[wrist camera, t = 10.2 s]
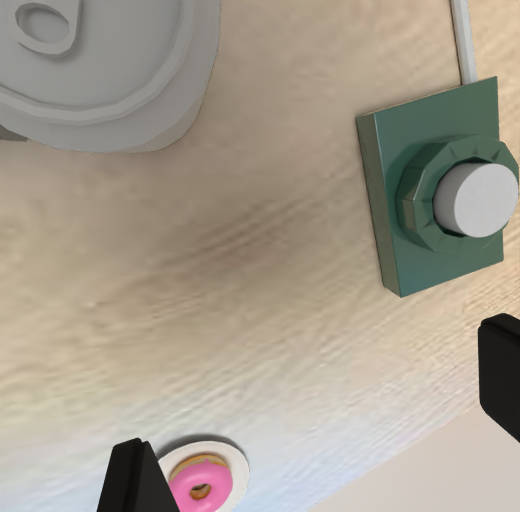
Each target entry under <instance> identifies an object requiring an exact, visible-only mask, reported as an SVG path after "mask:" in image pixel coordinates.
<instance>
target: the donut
mask: <svg viewBox="0 0 520 512" xmlns="http://www.w3.org/2000/svg"><path fill="white" fill-rule="evenodd" d="M158 463H159V465H160V467H161V469H162V472H163V474H164V476H165V478H166V481H167V483H168V485H169V487H170V490H171V492H172V494H173V496H174V499H175V501H176V503H177V505H178V508H179V510H180V512H230V511H231V510H232V509H233V508H234V507H235V506H236V505H237V504H238V502H239V501H240V500H241V498H242V497H243V495H244V493H245V491H246V489H247V486H248V482H249V474H250V471H249V466H248V462H247V460H246V458H245V456H244V455H243V454H242V453H241V452H240V451H239V450H238V449H236V448H235V447H233V446H231V445H229V444H226V443H223V442H217V441H200V442H195V443H190V444H187V445H185V446H182V447H179V448H177V449H175V450H173V451H171V452H169V453H168V454H167V455H165V456H164V457H162V458H161V459H160V460H159V461H158Z"/></svg>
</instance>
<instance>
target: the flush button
mask: <svg viewBox="0 0 520 512" xmlns="http://www.w3.org/2000/svg"><path fill="white" fill-rule="evenodd" d="M518 194H519V190H518V183H517V180H516V177H515V176H514V174H513V173H512V171H511V170H510V169H508V168H507V167H505V166H503V165H501V164H493V163H464V164H460V165H458V166H456V167H454V168H452V169H451V170H450V171H448V172H447V173H446V174H445V175H444V176H443V178H442V179H441V180H440V182H439V184H438V186H437V188H436V190H435V194H434V198H433V210H434V214H435V217H436V219H437V221H438V222H439V223H440V224H441V225H442V226H443V227H444V228H446V229H448V230H451V231H454V232H457V233H461V234H464V235H468V236H471V237H485V236H489V235H491V234H493V233H495V232H497V231H498V230H500V229H501V228H502V227H503V226H504V225H505V224H506V223H507V222H508V220H509V219H510V218H511V216H512V214H513V212H514V210H515V208H516V205H517V201H518Z"/></svg>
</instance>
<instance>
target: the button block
mask: <svg viewBox="0 0 520 512" xmlns="http://www.w3.org/2000/svg"><path fill="white" fill-rule="evenodd" d="M356 121H357V127H358V133H359V139H360V145H361V151H362V157H363V163H364V169H365V175H366V181H367V187H368V193H369V199H370V205H371V211H372V217H373V223H374V229H375V235H376V241H377V247H378V253H379V259H380V265H381V271H382V277H383V283H384V287H386V288H387V289H389V290H390V291H392V292H393V293H395V294H396V295H398V296H399V297H400V298H402V297H405V296H408V295H411V294H413V293H416V292H419V291H422V290H424V289H427V288H430V287H433V286H436V285H438V284H441V283H444V282H447V281H449V280H452V279H455V278H458V277H460V276H463V275H466V274H469V273H471V272H474V271H477V270H480V269H482V268H485V267H488V266H491V265H493V264H496V263H499V262H502V261H503V260H504V255H503V229H504V228H505V227H506V225H507V224H508V222H507V223H506V224H505V225H504V226H503V227H502V228H501V229H500V230H498V231H497V232H495V233H493V234H491V235H489V236H485V237H471V236H468V235H464V234H461V233H457V232H454V231H451V230H448V229H446V228H444V227H443V226H442V225H441V224H440V223H439V222H438V221H437V219H436V217H435V214H434V210H433V198H434V194H435V190H436V188H437V186H438V184H439V182H440V180H441V179H442V178H443V176H444V175H445V174H446V173H447V172H448V171H450V170H451V169H452V168H454V167H456V166H458V165H460V164H464V163H493V164H501V165H503V166H505V167H507V168H508V169H510V170H511V171H512V173H513V174H514V176H515V177H516V180H517V183H518V190H519V167H518V164H517V162H516V161H515V159H514V158H513V156H512V154H511V153H510V151H509V150H508V148H507V146H506V145H505V143H503V142H501V141H499V114H498V86H497V76H494V77H490V78H486V79H482V80H478V81H474V82H471V83H467V84H463V85H459V86H456V87H453V88H449V89H446V90H443V91H439V92H436V93H433V94H429V95H426V96H422V97H419V98H416V99H412V100H409V101H406V102H402V103H399V104H395V105H392V106H389V107H385V108H382V109H379V110H375V111H372V112H369V113H365V114H362V115H358V116H356ZM518 196H519V194H518ZM518 198H519V197H518ZM508 221H509V220H508Z"/></svg>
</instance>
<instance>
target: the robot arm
mask: <svg viewBox="0 0 520 512" xmlns="http://www.w3.org/2000/svg"><path fill="white" fill-rule="evenodd" d="M478 360H479V398H480V404H481V406H482V408H483V410H484V411H485V413H486V414H487V415H489V416H490V417H491V418H492V419H493V420H494V421H495V422H497V423H498V424H499V425H500V426H501V427H502V428H503V429H505V430H506V431H507V432H508V433H509V434H510V435H511V436H513V437H514V438H515V439H516V440H517V441H518V442H519V443H520V320H519V319H517V318H515V317H513V316H511V315H509V314H506V313H501V314H498V315H495V316H492V317H489V318H486V319H484V320H482V322H481V326H480V327H479V328H478ZM97 512H180V510H179V508H178V505H177V503H176V501H175V499H174V496H173V494H172V492H171V490H170V487H169V485H168V483H167V481H166V478H165V476H164V474H163V472H162V469H161V467H160V465H159V463H158V461H157V458H156V456H155V454H154V452H153V449H152V447H151V445H150V443H149V442H148V441H145V442H142V441H141V439H140V438H135V439H132V440H129V441H126V442H123V443H120V444H117V445H115V446H114V447H113V450H112V453H111V457H110V461H109V465H108V469H107V472H106V476H105V480H104V484H103V488H102V492H101V496H100V500H99V504H98V508H97Z"/></svg>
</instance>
